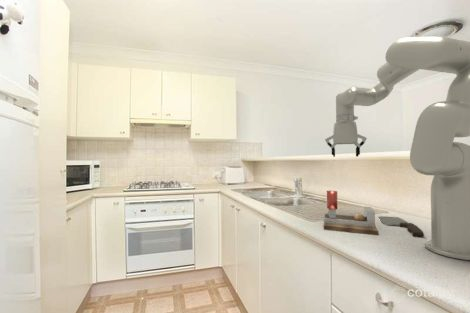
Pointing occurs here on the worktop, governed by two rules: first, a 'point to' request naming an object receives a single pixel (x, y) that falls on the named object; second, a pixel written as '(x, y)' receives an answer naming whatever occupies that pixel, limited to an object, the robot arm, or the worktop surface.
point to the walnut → (359, 217)
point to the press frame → (349, 219)
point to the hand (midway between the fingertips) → (345, 156)
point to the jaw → (332, 203)
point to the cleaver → (402, 225)
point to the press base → (352, 229)
